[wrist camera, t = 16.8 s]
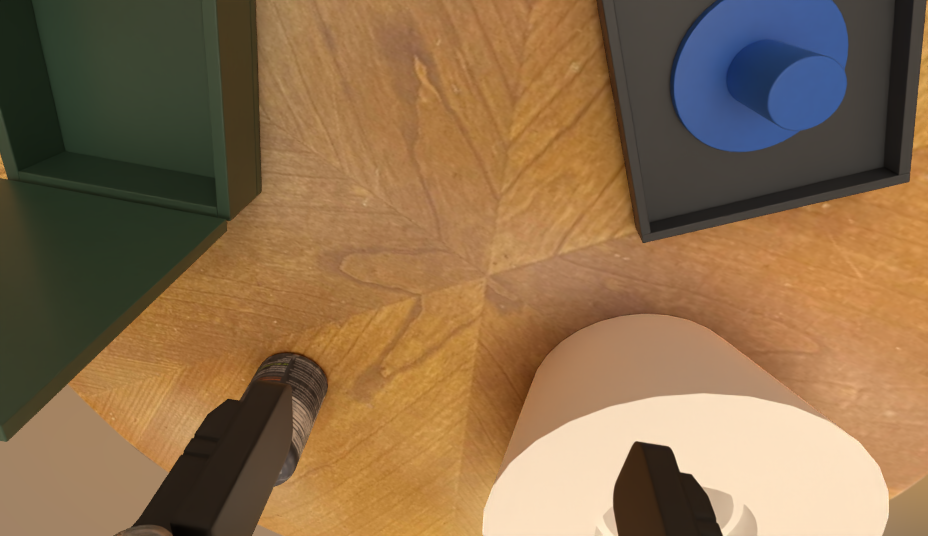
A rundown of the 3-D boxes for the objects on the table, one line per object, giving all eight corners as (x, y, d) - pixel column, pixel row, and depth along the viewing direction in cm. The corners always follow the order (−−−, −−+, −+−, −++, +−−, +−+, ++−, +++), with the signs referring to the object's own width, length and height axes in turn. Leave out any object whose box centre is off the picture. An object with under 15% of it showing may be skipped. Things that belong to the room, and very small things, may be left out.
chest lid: (-415, 354, 17) (-329, 452, 20) (0, 426, 18) (35, 514, 20) (-1, 177, 32) (20, 247, 34) (226, 219, 32) (231, 285, 34)
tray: (586, -55, 28) (592, -55, 26) (912, -170, 25) (944, -180, 23) (636, 229, 36) (642, 243, 34) (887, 169, 33) (909, 182, 31)
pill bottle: (263, 399, 47) (198, 515, 37) (256, 346, 44) (184, 457, 34) (330, 407, 46) (283, 526, 37) (328, 355, 43) (276, 469, 34)
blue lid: (660, 11, 29) (695, 23, 23) (843, -47, 27) (928, -49, 21) (679, 165, 33) (712, 205, 27) (838, 124, 31) (909, 159, 26)
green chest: (1, -122, 28) (-85, -136, 24) (253, -74, 29) (210, -79, 24) (65, 156, 36) (7, 181, 32) (262, 192, 37) (230, 221, 32)
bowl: (758, 496, 48) (827, 643, 38) (494, 493, 51) (491, 629, 40) (829, 268, 36) (957, 392, 26) (480, 278, 39) (469, 394, 28)
